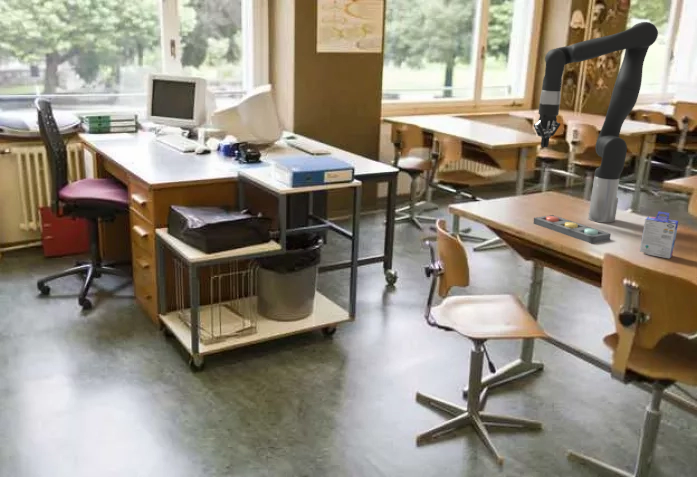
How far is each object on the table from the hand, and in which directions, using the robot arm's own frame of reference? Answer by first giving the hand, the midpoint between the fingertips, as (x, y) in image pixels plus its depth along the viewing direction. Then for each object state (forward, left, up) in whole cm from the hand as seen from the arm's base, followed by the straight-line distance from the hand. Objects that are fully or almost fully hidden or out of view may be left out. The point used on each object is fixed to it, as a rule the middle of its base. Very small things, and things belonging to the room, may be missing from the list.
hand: (544, 147), depth 270 cm
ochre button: (-6, +27, -26) cm, 38 cm away
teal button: (-11, +34, -26) cm, 44 cm away
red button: (-1, +19, -26) cm, 32 cm away
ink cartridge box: (-29, +48, -27) cm, 62 cm away
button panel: (-6, +27, -27) cm, 39 cm away
